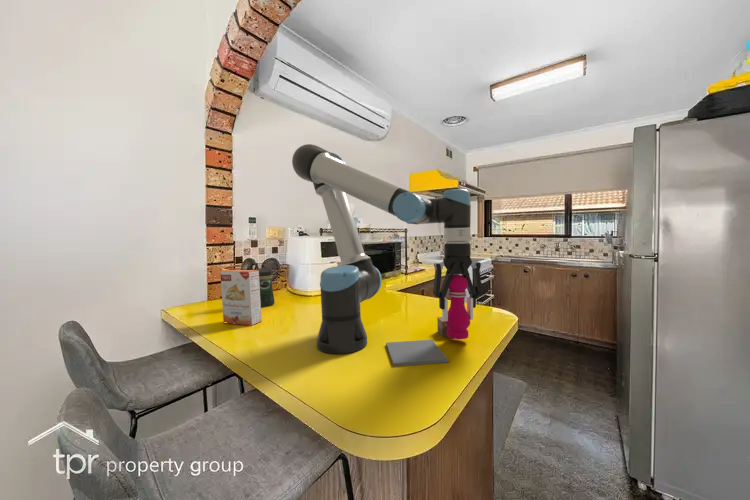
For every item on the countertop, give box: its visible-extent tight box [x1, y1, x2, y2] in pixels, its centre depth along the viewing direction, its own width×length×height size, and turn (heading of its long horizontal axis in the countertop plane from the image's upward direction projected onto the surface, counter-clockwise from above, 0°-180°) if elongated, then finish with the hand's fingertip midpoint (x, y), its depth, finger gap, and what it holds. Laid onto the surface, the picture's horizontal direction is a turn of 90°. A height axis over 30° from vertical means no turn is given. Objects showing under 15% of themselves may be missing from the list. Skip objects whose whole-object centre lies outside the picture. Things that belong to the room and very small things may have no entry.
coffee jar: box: [254, 267, 275, 308], centre depth 142 cm, size 10×8×19 cm
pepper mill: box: [445, 274, 471, 340], centre depth 86 cm, size 7×7×20 cm
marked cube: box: [436, 316, 449, 338], centre depth 93 cm, size 5×5×5 cm
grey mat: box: [385, 339, 449, 367], centre depth 79 cm, size 14×14×1 cm
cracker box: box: [220, 269, 262, 326], centre depth 113 cm, size 14×6×21 cm, turn 71°
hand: (457, 319), depth 86 cm, fingers closed on pepper mill, 7 cm apart
